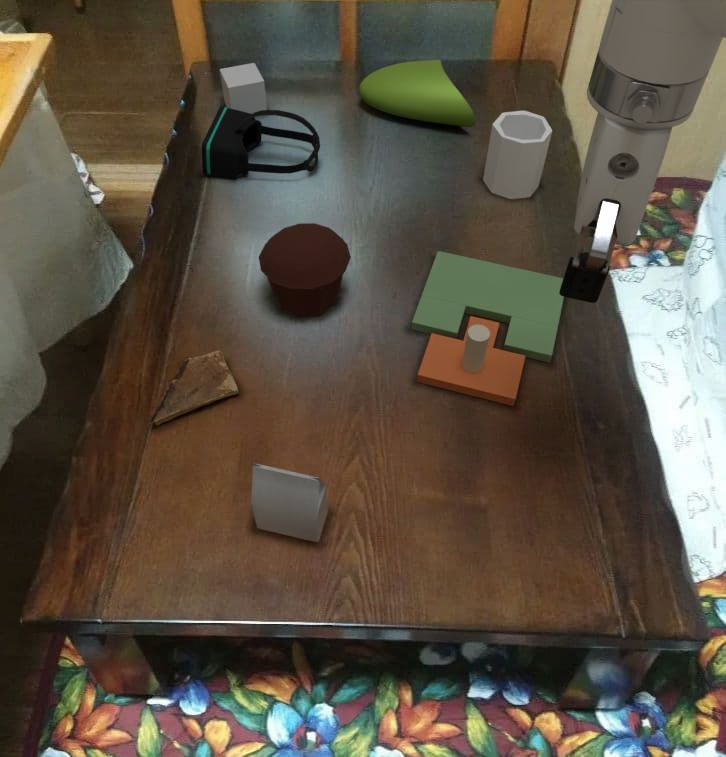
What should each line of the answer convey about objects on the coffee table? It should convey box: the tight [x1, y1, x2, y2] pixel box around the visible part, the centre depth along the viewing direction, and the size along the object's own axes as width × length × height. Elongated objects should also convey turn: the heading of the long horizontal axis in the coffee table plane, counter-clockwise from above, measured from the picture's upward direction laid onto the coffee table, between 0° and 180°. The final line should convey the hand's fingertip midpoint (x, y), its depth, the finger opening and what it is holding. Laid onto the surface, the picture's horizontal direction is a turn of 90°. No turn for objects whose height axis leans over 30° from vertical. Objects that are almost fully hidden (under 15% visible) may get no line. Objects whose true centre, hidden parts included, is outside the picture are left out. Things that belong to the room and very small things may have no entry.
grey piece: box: [250, 462, 329, 543], centre depth 74 cm, size 4×7×10 cm, turn 76°
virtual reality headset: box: [201, 105, 321, 179], centre depth 113 cm, size 11×17×10 cm, turn 81°
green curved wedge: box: [358, 59, 476, 128], centre depth 122 cm, size 8×12×20 cm
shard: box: [149, 350, 240, 426], centre depth 88 cm, size 11×8×2 cm
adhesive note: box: [219, 62, 268, 114], centre depth 123 cm, size 6×6×6 cm
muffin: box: [258, 222, 352, 319], centre depth 95 cm, size 12×11×10 cm
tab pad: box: [416, 315, 527, 407], centre depth 89 cm, size 12×11×8 cm
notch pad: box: [410, 250, 565, 364], centre depth 97 cm, size 18×14×2 cm
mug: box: [482, 110, 553, 200], centre depth 111 cm, size 12×9×10 cm
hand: (584, 259), depth 65 cm, fingers open, 9 cm apart
